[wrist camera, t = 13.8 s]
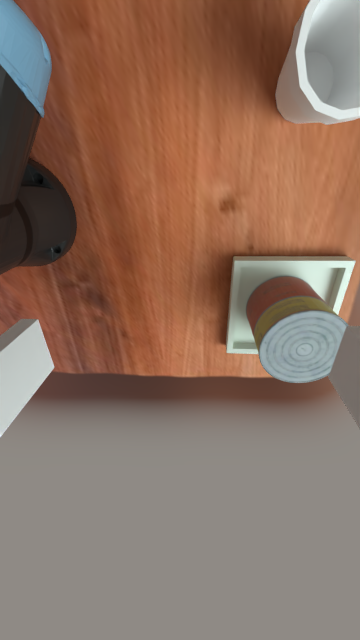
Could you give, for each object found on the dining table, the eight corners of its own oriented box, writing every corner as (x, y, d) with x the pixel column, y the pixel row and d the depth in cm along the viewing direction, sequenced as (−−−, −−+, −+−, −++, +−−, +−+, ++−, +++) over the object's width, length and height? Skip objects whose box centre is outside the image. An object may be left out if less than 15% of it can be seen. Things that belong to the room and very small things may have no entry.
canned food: (244, 336, 46) (255, 383, 36) (247, 276, 40) (263, 311, 30) (309, 335, 45) (340, 383, 34) (322, 273, 39) (364, 309, 29)
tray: (225, 345, 48) (226, 352, 46) (233, 256, 40) (234, 260, 38) (319, 347, 47) (324, 356, 45) (347, 256, 38) (355, 260, 36)
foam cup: (304, 155, 33) (357, 145, 21) (245, 109, 31) (269, 72, 20) (366, 67, 28) (475, -5, 17) (302, 7, 26) (376, -117, 15)
